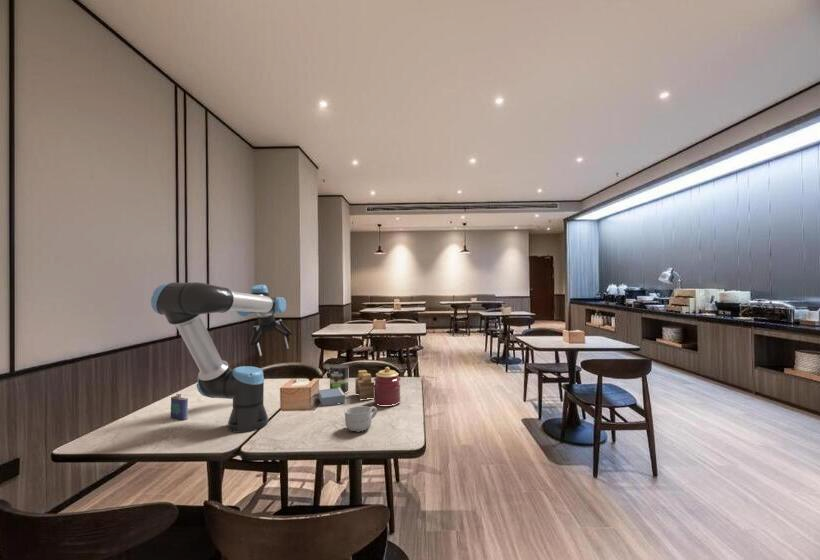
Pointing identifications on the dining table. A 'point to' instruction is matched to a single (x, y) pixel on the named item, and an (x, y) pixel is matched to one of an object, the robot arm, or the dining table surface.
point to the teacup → (359, 417)
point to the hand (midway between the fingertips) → (274, 351)
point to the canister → (387, 387)
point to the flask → (179, 407)
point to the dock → (331, 396)
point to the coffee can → (339, 377)
